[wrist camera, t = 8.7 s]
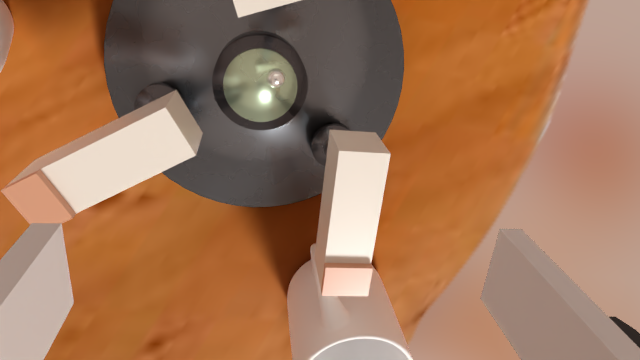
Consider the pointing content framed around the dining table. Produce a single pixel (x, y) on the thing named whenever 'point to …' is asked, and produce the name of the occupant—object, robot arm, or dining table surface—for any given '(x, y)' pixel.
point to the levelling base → (259, 154)
